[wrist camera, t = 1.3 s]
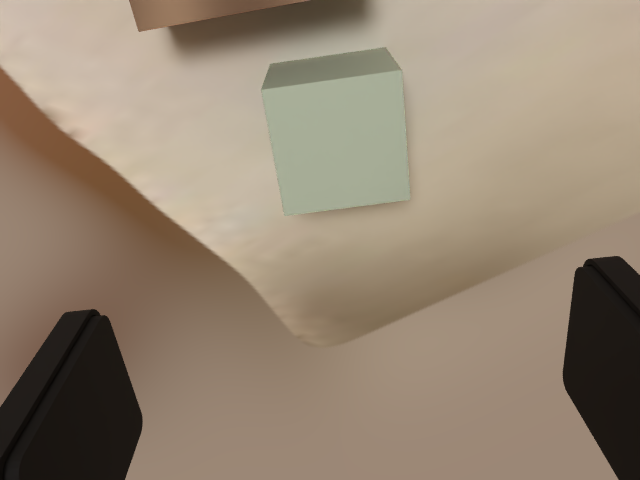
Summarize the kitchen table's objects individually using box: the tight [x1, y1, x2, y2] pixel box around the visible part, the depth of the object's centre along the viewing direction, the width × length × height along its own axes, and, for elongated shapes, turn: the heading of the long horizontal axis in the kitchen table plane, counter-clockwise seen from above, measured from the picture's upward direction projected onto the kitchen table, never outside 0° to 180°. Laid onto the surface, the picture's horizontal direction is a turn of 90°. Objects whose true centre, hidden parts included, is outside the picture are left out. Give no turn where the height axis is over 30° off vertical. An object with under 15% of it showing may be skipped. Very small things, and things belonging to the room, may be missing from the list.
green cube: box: [261, 47, 410, 216], centre depth 28 cm, size 6×6×6 cm
